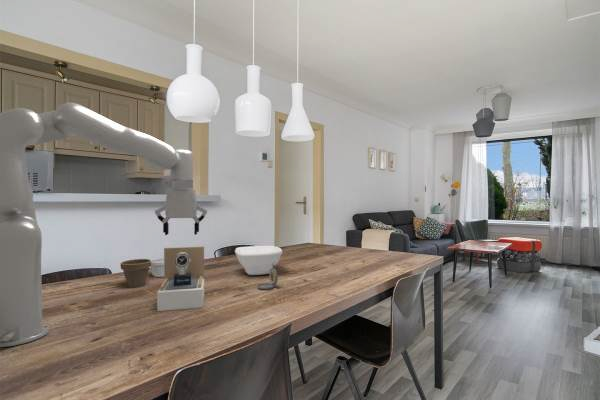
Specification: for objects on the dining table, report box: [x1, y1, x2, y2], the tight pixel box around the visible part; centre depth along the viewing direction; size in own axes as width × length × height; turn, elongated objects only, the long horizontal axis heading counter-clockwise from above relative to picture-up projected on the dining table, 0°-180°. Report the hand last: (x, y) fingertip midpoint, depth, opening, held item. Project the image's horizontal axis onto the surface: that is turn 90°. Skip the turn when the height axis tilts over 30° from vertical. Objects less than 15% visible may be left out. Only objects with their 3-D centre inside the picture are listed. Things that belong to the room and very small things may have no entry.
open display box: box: [156, 246, 205, 312], centre depth 116 cm, size 16×14×18 cm
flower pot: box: [120, 258, 152, 288], centre depth 137 cm, size 12×11×10 cm
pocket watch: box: [256, 262, 279, 290], centre depth 133 cm, size 8×8×10 cm
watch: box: [174, 252, 191, 286], centre depth 115 cm, size 6×8×11 cm
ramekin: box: [150, 257, 164, 278], centre depth 156 cm, size 13×13×7 cm
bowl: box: [234, 245, 284, 276], centre depth 157 cm, size 22×22×12 cm
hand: (181, 234), depth 115 cm, fingers open, 9 cm apart
